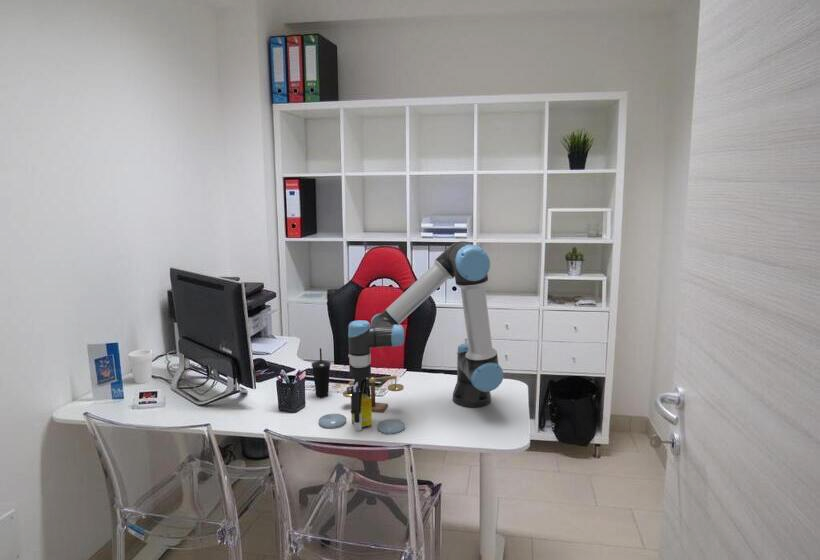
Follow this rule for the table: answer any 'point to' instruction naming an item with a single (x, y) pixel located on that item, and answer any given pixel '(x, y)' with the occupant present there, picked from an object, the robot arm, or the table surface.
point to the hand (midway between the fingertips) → (361, 424)
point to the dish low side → (332, 421)
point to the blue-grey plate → (391, 426)
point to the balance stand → (377, 406)
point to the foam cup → (141, 365)
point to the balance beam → (391, 387)
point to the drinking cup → (321, 376)
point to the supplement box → (365, 411)
